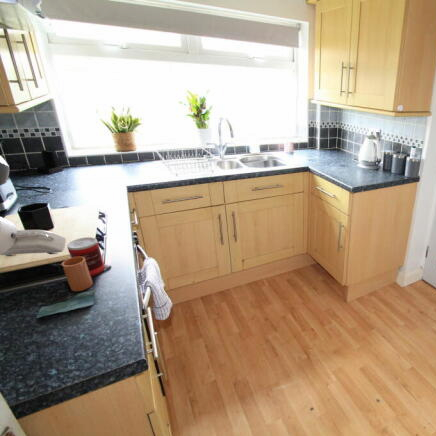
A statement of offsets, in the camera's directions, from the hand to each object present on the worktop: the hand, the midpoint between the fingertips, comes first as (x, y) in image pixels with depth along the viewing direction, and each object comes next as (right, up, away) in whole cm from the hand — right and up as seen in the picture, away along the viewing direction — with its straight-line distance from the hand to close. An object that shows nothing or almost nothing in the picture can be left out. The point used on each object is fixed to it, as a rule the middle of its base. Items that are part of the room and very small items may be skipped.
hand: (34, 252), depth 81 cm
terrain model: (+1, -17, +9) cm, 19 cm away
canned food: (-5, -9, +26) cm, 28 cm away
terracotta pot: (-2, -12, +19) cm, 23 cm away
